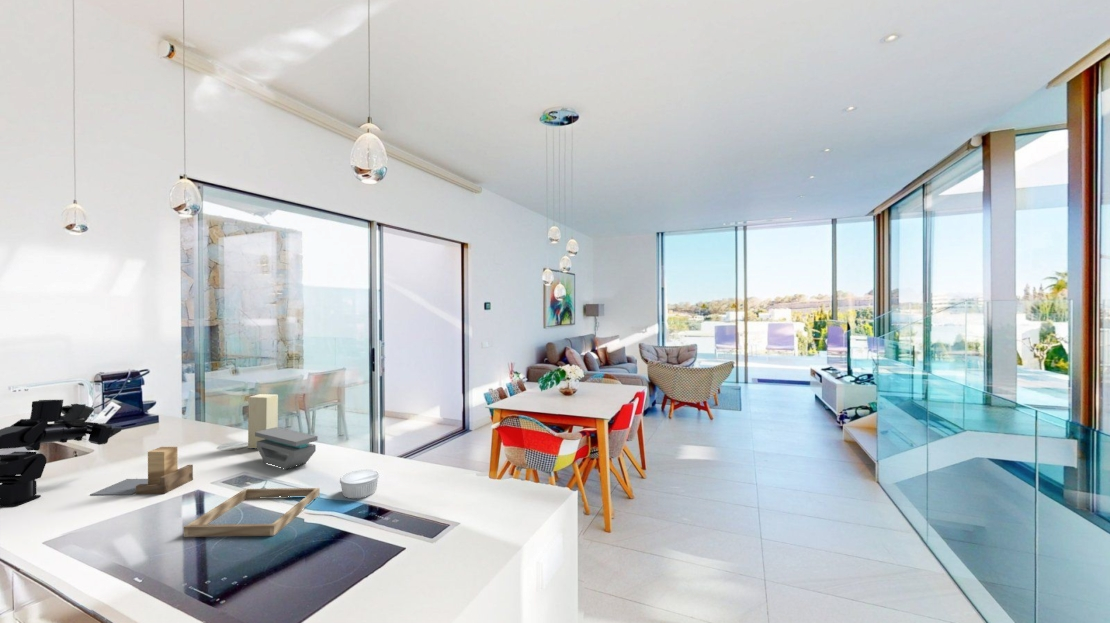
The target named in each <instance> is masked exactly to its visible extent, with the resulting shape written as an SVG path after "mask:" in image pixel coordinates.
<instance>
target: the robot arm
mask: <svg viewBox="0 0 1110 623" xmlns="http://www.w3.org/2000/svg"><path fill="white" fill-rule="evenodd" d="M94 411H95V408H94V407H92V406H88V405H85V404H80V403H70V405H64V399H38V400H35V401H34V400H33V401H32V403H31V413H30V418H21V419H19V420H18V421H15V423H13V424H11V425H10V426H6V427H3V428H1V429H0V450H5V449H6V450H7V449H17V448H25V450H26V451H13V452H11V453H8V454H0V507H18V506H20V505H23V504H25V503H27V502H30V501H33V500H36V499H39V498H41V497H42V495H41V494H37V481H36V480H38V479H41V478H42V476H43V473H44V470H45V468H46V465H47V457H46V455H44V453H37V451H40V449H41V444H48V443H54V442H55V443H56V442H58V443H67V442H68V441H72V440H73V441H76V442H80V441H82V440H83V437H85V436H86V435H89V436H88V442H90V444H95V445H99V446H100V445H101V446H102V445H106V444H107V443H108V442H109V439H111V438H112V437H113V436H115V435H117V434H119V433H120V432H121V431H122V429H123V428H122V427H113V426H112V424H108V423H104V422H103V423H101V422H90V421H87V420H88V419H89V417H90V416H91V415H92V413H94Z"/></svg>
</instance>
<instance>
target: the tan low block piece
mask: <svg viewBox="0 0 1110 623" xmlns="http://www.w3.org/2000/svg"><path fill="white" fill-rule="evenodd" d="M193 469H194V464H187V465H184V466H181V467H180V468H179V469H178V470H175V471H173V472H171V473H169V474H166V475H164V476H162V477H160V484H139V485H137V486H136V493H135V494H136V495H165V494H168V493H169V492H171V491H174V490H176V489H177V488H179V487H181V486H183V485H186V484H187V483H189V482H191V481H193V480H194V470H193Z"/></svg>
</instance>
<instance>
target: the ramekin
mask: <svg viewBox="0 0 1110 623" xmlns="http://www.w3.org/2000/svg"><path fill="white" fill-rule="evenodd" d="M379 478H380V473H379V472H378V470H373V469H357V470H351V471H349V472H346V473H344V474H343V475H342V476H340V479H339V484H340V488H341V492H342V493H341V494H342V496H344V498H346V497H348V498H347V499H350V498H357V499H361V498H360V497H363V498H366V497H365V496H367V497H370V496H372V495H373V494H374V493H375V491H377V488H378V482H379Z"/></svg>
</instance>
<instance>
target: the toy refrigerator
mask: <svg viewBox="0 0 1110 623" xmlns="http://www.w3.org/2000/svg"><path fill="white" fill-rule="evenodd" d="M278 414H279V394H270V393H268V394H267V393H266V394H265V393H259V394H256V395H251V396H248V419H247V420H248V424H247V429H248V430H247V431H248V433H247V448H257V441H261V440H264V438H260V437H256V436H255V432H258V431H262V430H266V429H270V428H275V427H279V425H278V424H279V421H278V420H279V419H278V418H279V417H278V416H279V415H278Z"/></svg>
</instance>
